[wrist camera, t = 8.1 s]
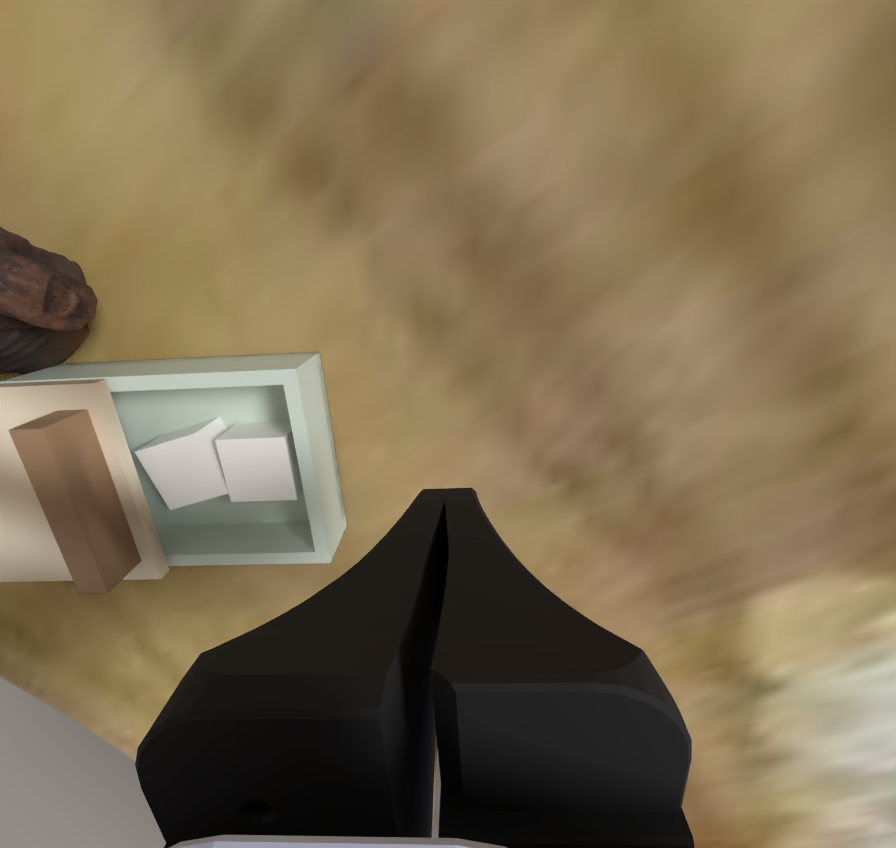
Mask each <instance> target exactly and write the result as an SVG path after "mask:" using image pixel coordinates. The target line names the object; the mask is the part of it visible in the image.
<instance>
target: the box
mask: <svg viewBox="0 0 896 848" xmlns="http://www.w3.org/2000/svg"><path fill="white" fill-rule="evenodd" d="M94 379H106V381H107V384H108V387H109V390H110V393H111V396H112V399H113V402H114V405H115V408H116V411H117V414H118V417H119V420H120V423H121V426H122V429H123V432H124V435H125V438H126V441H127V444H128V447H129V450H130V453H131V456H132V459H133V462H134V465H135V468H136V471H137V474H138V477H139V480H140V483H141V486H142V489H143V492H144V495H145V498H146V501H147V504H148V507H149V510H150V513H151V516H152V519H153V522H154V525H155V528H156V531H157V534H158V537H159V540H160V543H161V546H162V549H163V552H164V555H165V558H166V561H167V564H168V566H197V565H249V564H301V563H330V562H331V560H332V558H333V556H334V553H335V551H336V549H337V546H338V544H339V542H340V539H341V537H342V535H343V533H344V530H345V528H346V526H347V524H346V518H345V512H344V505H343V499H342V492H341V486H340V480H339V473H338V467H337V460H336V454H335V448H334V441H333V435H332V429H331V422H330V416H329V409H328V403H327V397H326V390H325V384H324V377H323V371H322V365H321V358H320V352H311V353H289V354H267V355H245V356H223V357H201V358H179V359H157V360H135V361H113V362H91V363H69V364H60V365H56V366H53V367H49V368H46V369H42V370H39V371H35V372H32V373H28V374H25V375H21V376H18V377H14V378H11V379H7V380H4V381H0V384H1V383H24V382H47V381H71V380H94ZM216 417H220V419H221V420H222V422H223V424H224V426H225V428H226V430H228V429H230V428H231V427H232V426H234V425H235V424H236V423H246V422H271V421H290V423H291V428H292V433H293V438H294V444H295V449H296V454H297V459H298V465H299V470H300V475H301V480H302V486H303V492H302V494H301V495H300V497H299V498H298V499H297V500H281V501H247V502H231V500H230V496H229V493H228V494H225V495H221V496H218V497H214V498H211V499H207V500H204V501H200V502H197V503H193V504H190V505H186V506H183V507H179V508H176V509H172V510H170V509H169V507H168V506H167V504H166V503H165V501H164V499H163V498H162V496H161V495H160V493H159V491H158V490H157V488H156V486H155V485H154V483H153V482H152V480H151V478H150V477H149V475H148V473H147V472H146V470H145V469H144V467H143V465H142V464H141V462H140V460H139V459H138V457H137V456H136V454H135V451H137V450H138V449H140V448H142V447H143V446H145V445H147V444H148V443H150V442H152V441H153V440H155V439H156V438H158V437H160V436H161V435H163V434H166V433H169V432H172V431H175V430H178V429H182V428H185V427H188V426H191V425H194V424H197V423H201V422H204V421H207V420H210V419H213V418H216Z"/></svg>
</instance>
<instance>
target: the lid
mask: <svg viewBox="0 0 896 848" xmlns="http://www.w3.org/2000/svg"><path fill="white" fill-rule="evenodd" d="M168 571H169V567H168V564H167V561H166V558H165V555H164V552H163V549H162V546H161V543H160V540H159V537H158V534H157V531H156V528H155V525H154V522H153V519H152V516H151V513H150V510H149V507H148V504H147V501H146V498H145V495H144V492H143V489H142V486H141V483H140V480H139V477H138V474H137V471H136V468H135V465H134V462H133V459H132V456H131V453H130V450H129V447H128V444H127V441H126V438H125V435H124V432H123V429H122V426H121V423H120V420H119V417H118V414H117V411H116V408H115V405H114V402H113V399H112V396H111V393H110V390H109V387H108V384H107V381H106V379H94V380H71V381H47V382H24V383H1V384H0V582H30V581H74V584H75V586H76V588H77V591H78V593H79V594H97V593H109V592H110V591H111V590H112V589H113V588H114V587H115V586H116V585H117V584H118V583H119V582H120V581H121V580H144V579H162V578H163V577H164V576H165V575H166V574H167V572H168Z"/></svg>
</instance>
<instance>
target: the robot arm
mask: <svg viewBox="0 0 896 848" xmlns="http://www.w3.org/2000/svg"><path fill="white" fill-rule="evenodd" d="M435 736H437V747H438V748H437V765H436V782H435V799H434V816H433V826H432V815H433V786H434V761H435ZM690 763H691V738H690V735H689V733H688V731H687V728H686V725H685V723H684V720H683V718H682V715H681V713H680V711H679V709H678V707H677V705H676V703H675V701H674V699H673V697H672V696H671V694H670V692H669V691H668V689H667V687H666V686H665V684H664V682H663V681H662V679H661V677H660V676H659V674H658V673H657V671H656V669H655V668H654V666H653V665H652V663H651V662H650V660H649V659H648V657H647V655H646V654H645V652H644V651H643V650H642V649H640V648H638V647H637V646H635V645H633V644H631V643H629V642H628V641H626V640H624V639H622V638H620V637H618V636H617V635H615V634H613V633H611V632H609V631H608V630H606V629H604V628H602V627H600V626H599V625H597V624H596V623H594V622H592V621H591V620H589V619H588V618H586V617H585V616H583V615H582V614H580V613H579V612H577V611H576V610H574V609H573V608H572V607H570V606H569V605H567V604H566V603H565V602H564V601H562V600H561V599H560V598H559V597H557V596H556V595H555V594H554V593H552V592H551V591H550V590H549V589H547V588H546V587H545V586H544V585H543V584H542V583H541V582H540V581H539V580H537V579H536V578H535V577H534V576H533V575H532V574H531V573H530V572H529V571H528V570H527V569H526V568H525V567H524V566H523V564H522V563H521V562H520V561H519V560H518V559H517V558H516V557H515V555H514V554H513V553H512V552H511V551H510V549H509V548H508V547H507V545H506V544H505V543H504V542H503V540H502V539H501V537H500V536H499V535H498V533H497V532H496V530H495V529H494V527H493V526H492V524H491V523H490V521H489V519H488V518H487V516H486V514H485V512H484V511H483V509H482V507H481V505H480V502H479V500H478V497H477V494H476V491H474V490H473V489H472V488H451V489H423V490H422V491H421V492H420V493H419V494H418V496H417V497H416V498H415V500H414V501H413V503H412V504H411V505H410V506H409V508H408V509H407V510H406V512H405V513H404V514H403V515H402V517H401V518H400V519H399V520H398V521H397V523H396V524H395V525H394V526H393V527H392V528H391V530H390V531H389V532H388V533H387V534H386V535H385V536H384V537H383V538H382V539H381V540H380V541H379V542H378V543H377V544H376V545H375V547H374V548H373V549H372V550H371V551H370V552H369V553H368V554H367V555H365V556H364V557H363V558H362V559H361V560H360V561H359V562H358V563H357V564H355V565H354V566H353V567H352V568H350V569H349V570H348V571H347V572H346V573H344V574H343V575H342V576H340V577H339V578H338V579H336V580H335V581H334V582H332V583H331V584H329V585H328V586H326V587H325V588H323V589H322V590H320V591H319V592H318V593H316V594H315V595H313V596H312V597H310V598H309V599H307V600H306V601H304V602H303V603H301V604H299V605H297V606H296V607H294V608H292V609H291V610H289V611H287V612H286V613H284V614H282V615H280V616H278V617H277V618H275V619H273V620H271V621H269V622H267V623H265V624H264V625H262V626H260V627H258V628H256V629H254V630H252V631H249V632H247V633H245V634H243V635H241V636H239V637H236V638H234V639H232V640H230V641H228V642H226V643H223V644H221V645H219V646H217V647H215V648H213V649H210V650H208V651H205V652H203V653H201V654H200V655H199V657H198V658H197V659H196V661H195V662H194V664H193V665H192V666H191V668H190V669H189V670H188V672H187V673H186V674H185V676H184V677H183V679H182V680H181V682H180V683H179V685H178V686H177V688H176V689H175V691H174V693H173V694H172V696H171V697H170V699H169V700H168V702H167V703H166V705H165V707H164V708H163V710H162V711H161V713H160V714H159V716H158V717H157V719H156V721H155V722H154V724H153V725H152V727H151V728H150V730H149V731H148V733H147V735H146V736H145V738H144V739H143V741H142V742H141V744H140V745H139V747H138V750H137V757H136V764H135V766H136V770H137V773H138V777H139V781H140V785H141V789H142V791H143V793H144V795H145V797H146V800H147V802H148V804H149V806H150V808H151V810H152V812H153V815H154V817H155V819H156V821H157V824H158V826H159V828H160V830H161V832H162V834H163V837H164V839H165V841H166V845H165V847H164V848H694V841H693V836H692V834H691V831H690V828H689V826H688V823H687V821H686V818H685V815H684V813H683V810H682V808H681V806H682V802H683V797H684V792H685V787H686V782H687V777H688V773H689V768H690Z"/></svg>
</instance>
